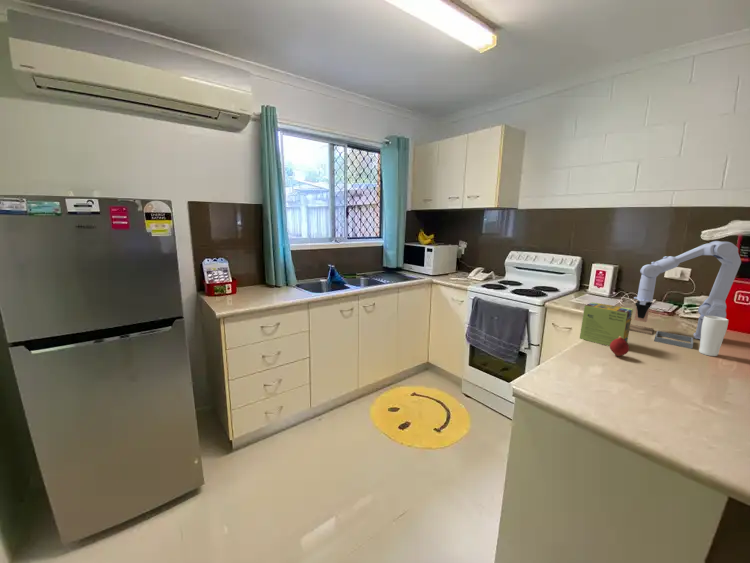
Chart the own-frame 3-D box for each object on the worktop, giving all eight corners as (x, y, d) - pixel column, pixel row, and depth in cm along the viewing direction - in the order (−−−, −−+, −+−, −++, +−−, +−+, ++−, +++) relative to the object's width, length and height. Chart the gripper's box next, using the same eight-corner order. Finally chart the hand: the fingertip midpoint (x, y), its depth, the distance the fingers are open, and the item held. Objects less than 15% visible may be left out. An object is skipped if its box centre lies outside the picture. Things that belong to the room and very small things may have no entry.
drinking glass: (725, 358, 122) (734, 321, 120) (704, 356, 124) (713, 319, 121) (711, 351, 129) (719, 316, 126) (691, 350, 130) (699, 314, 127)
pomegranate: (625, 354, 123) (628, 335, 122) (629, 360, 118) (632, 340, 117) (607, 352, 126) (610, 332, 124) (610, 357, 121) (613, 337, 119)
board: (627, 325, 162) (628, 323, 162) (653, 330, 155) (653, 328, 155) (624, 329, 155) (625, 327, 155) (651, 334, 148) (652, 333, 148)
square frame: (656, 334, 148) (656, 330, 148) (692, 341, 140) (693, 337, 139) (654, 341, 140) (654, 336, 139) (692, 348, 131) (693, 344, 131)
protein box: (621, 349, 129) (628, 312, 126) (579, 338, 140) (583, 305, 138) (627, 343, 136) (633, 308, 133) (586, 334, 147) (591, 301, 144)
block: (635, 318, 157) (637, 304, 156) (647, 320, 154) (649, 306, 153) (634, 320, 154) (636, 306, 153) (646, 322, 151) (648, 308, 150)
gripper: (637, 286, 159) (632, 312, 162) (633, 290, 149) (628, 317, 152) (656, 288, 154) (650, 315, 157) (653, 292, 144) (648, 321, 147)
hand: (641, 316), depth 154 cm, fingers closed on block, 4 cm apart
